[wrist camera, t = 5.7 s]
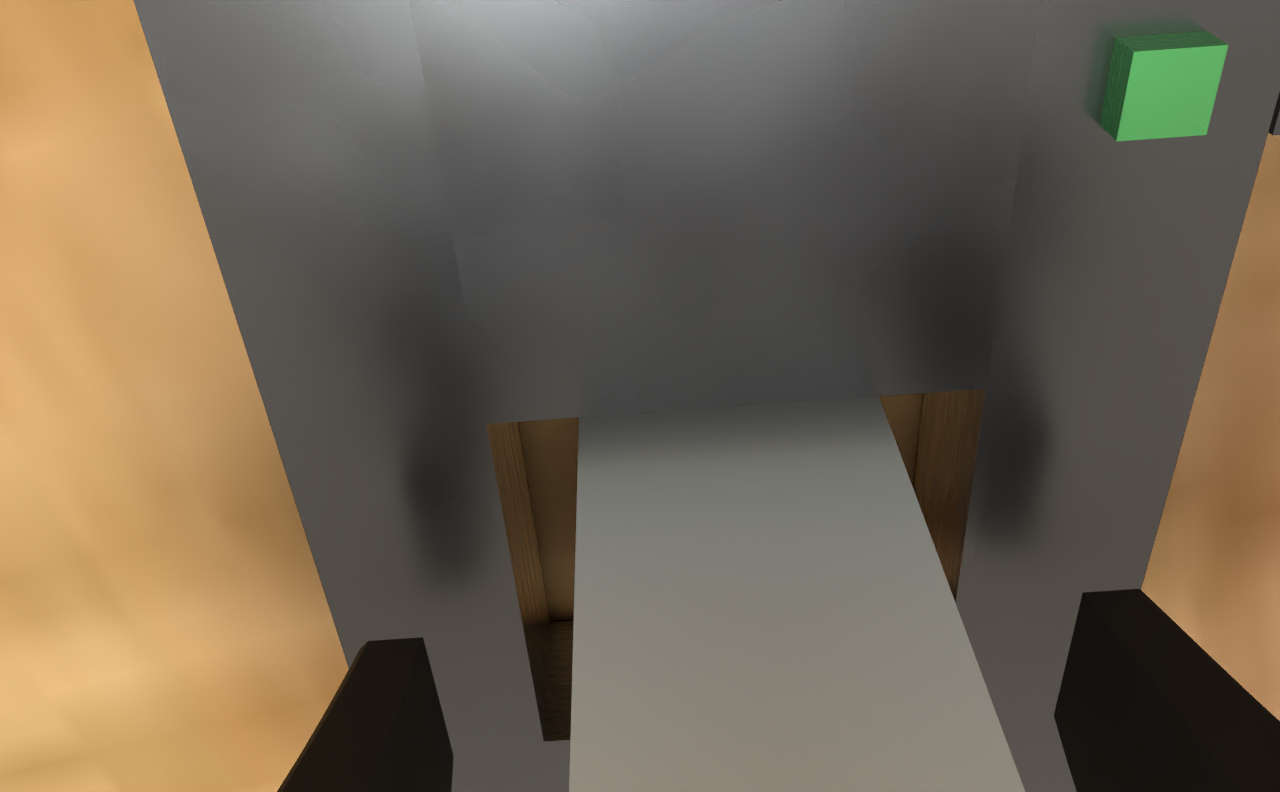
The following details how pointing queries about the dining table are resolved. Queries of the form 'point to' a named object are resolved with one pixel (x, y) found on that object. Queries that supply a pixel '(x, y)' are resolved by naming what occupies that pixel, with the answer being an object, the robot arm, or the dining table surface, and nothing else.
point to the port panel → (718, 282)
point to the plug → (767, 612)
